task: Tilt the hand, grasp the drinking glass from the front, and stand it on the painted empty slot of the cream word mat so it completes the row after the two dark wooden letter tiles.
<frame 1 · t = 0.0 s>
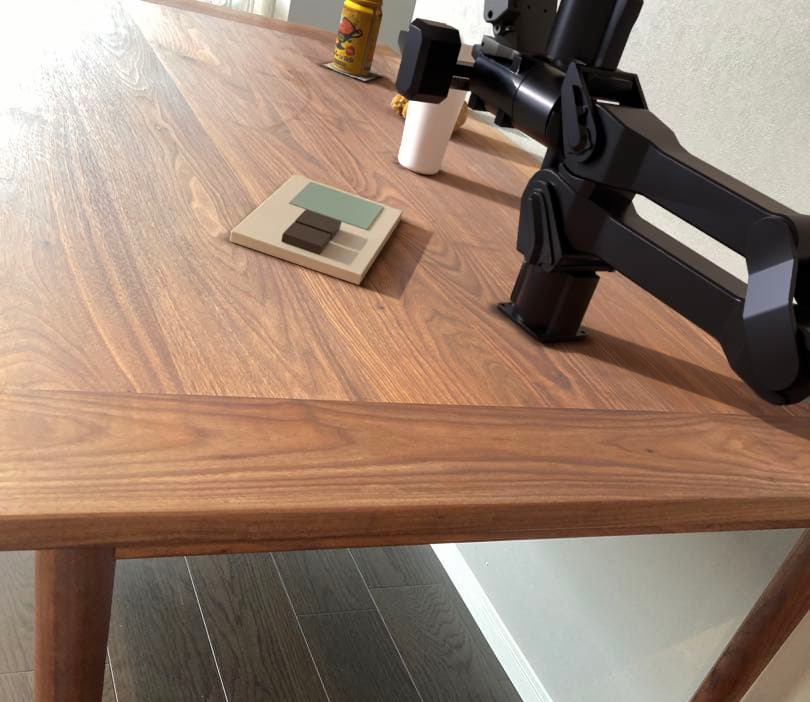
hand: (437, 42, 89), 17 cm above the table, tool horizontal, fingers open, 9 cm apart
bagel: (425, 124, 131), on the table
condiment: (352, 72, 144), on the table
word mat: (322, 229, 89), on the table
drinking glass: (417, 169, 113), on the table
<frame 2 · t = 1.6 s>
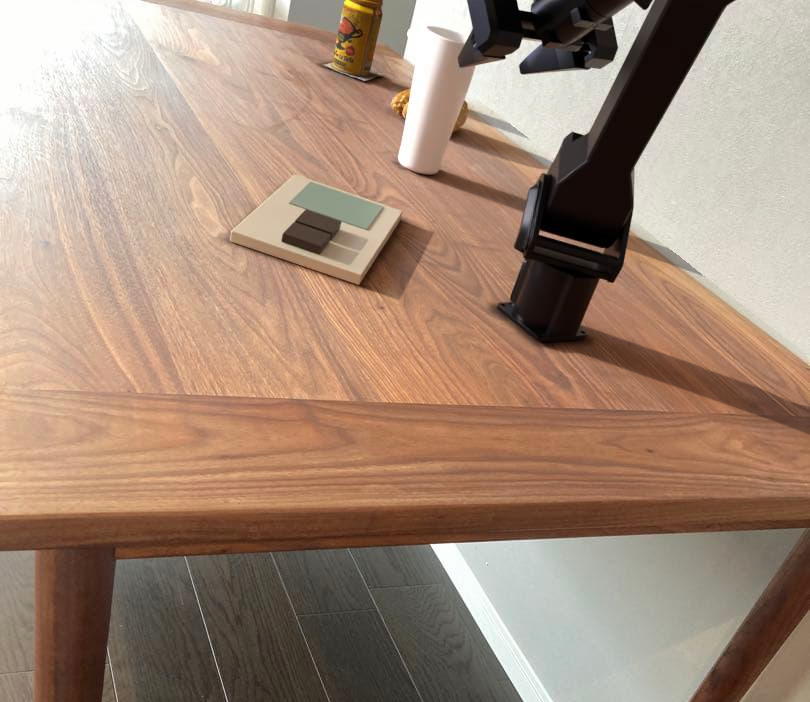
hand: (490, 66, 100), 14 cm above the table, tool tilted 45°, fingers open, 9 cm apart
nothing on the table moved.
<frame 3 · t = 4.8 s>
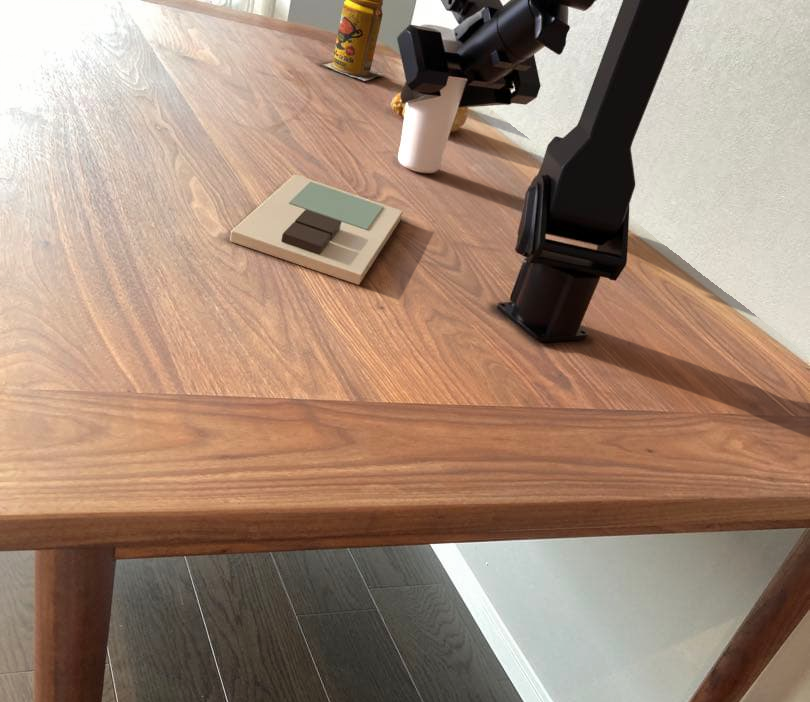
hand: (426, 101, 110), 7 cm above the table, tool tilted 45°, fingers closed on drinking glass, 7 cm apart
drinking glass: (417, 168, 113), on the table, touching gripper
everything else where it was.
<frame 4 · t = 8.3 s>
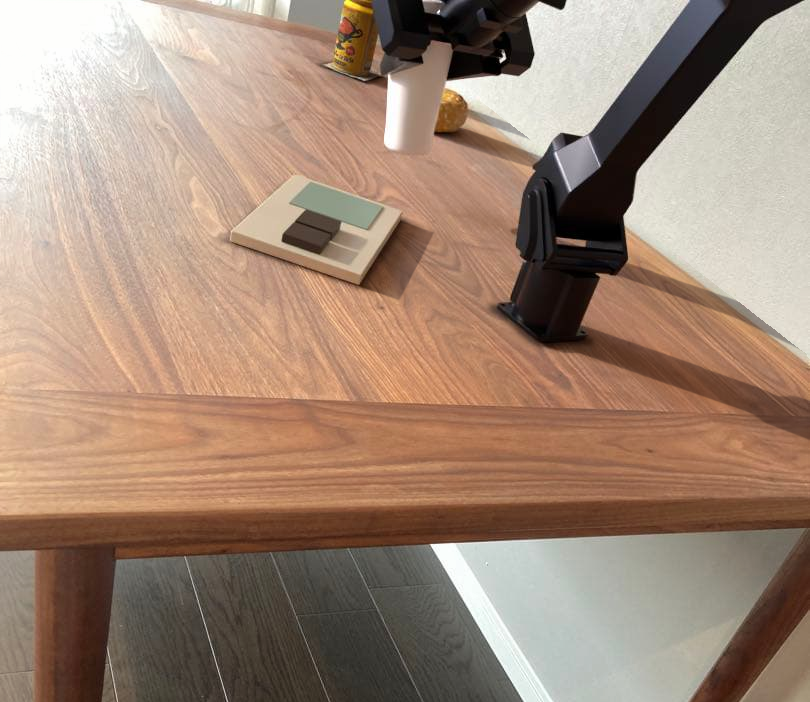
hand: (407, 74, 98), 12 cm above the table, tool tilted 45°, fingers closed on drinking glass, 6 cm apart
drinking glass: (406, 151, 102), point 4 cm above the table, touching gripper
everything else where it was.
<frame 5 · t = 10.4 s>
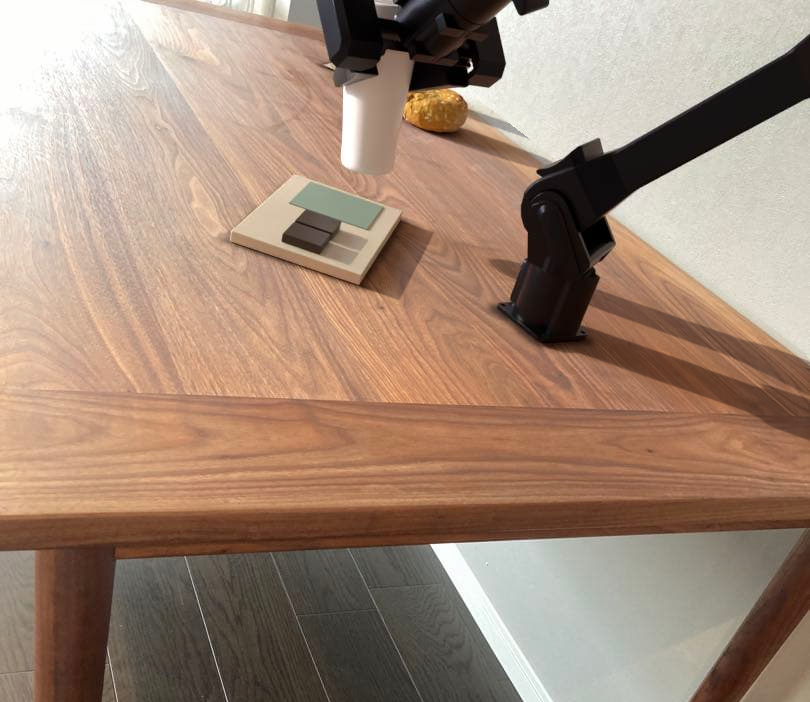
hand: (365, 85, 88), 12 cm above the table, tool tilted 45°, fingers closed on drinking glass, 6 cm apart
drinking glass: (366, 170, 92), point 4 cm above the table, touching gripper
everything else where it was.
when the fingers open (9 cm above the table, at t = 12.2 s): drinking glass stays where it is, resting on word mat.
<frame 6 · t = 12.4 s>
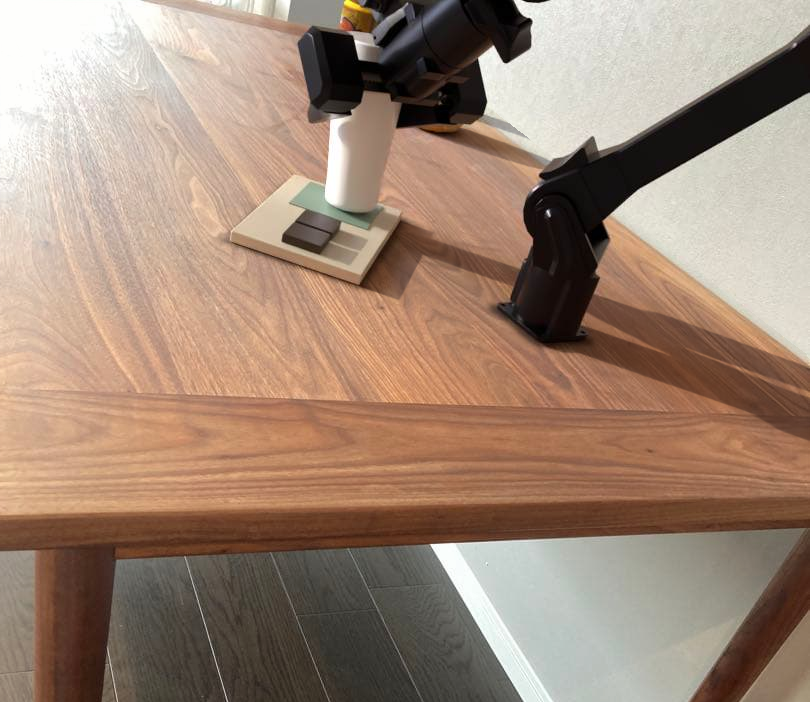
hand: (347, 121, 88), 9 cm above the table, tool tilted 45°, fingers open, 8 cm apart
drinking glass: (349, 207, 92), point 1 cm above the table, touching gripper, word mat
everything else where it was.
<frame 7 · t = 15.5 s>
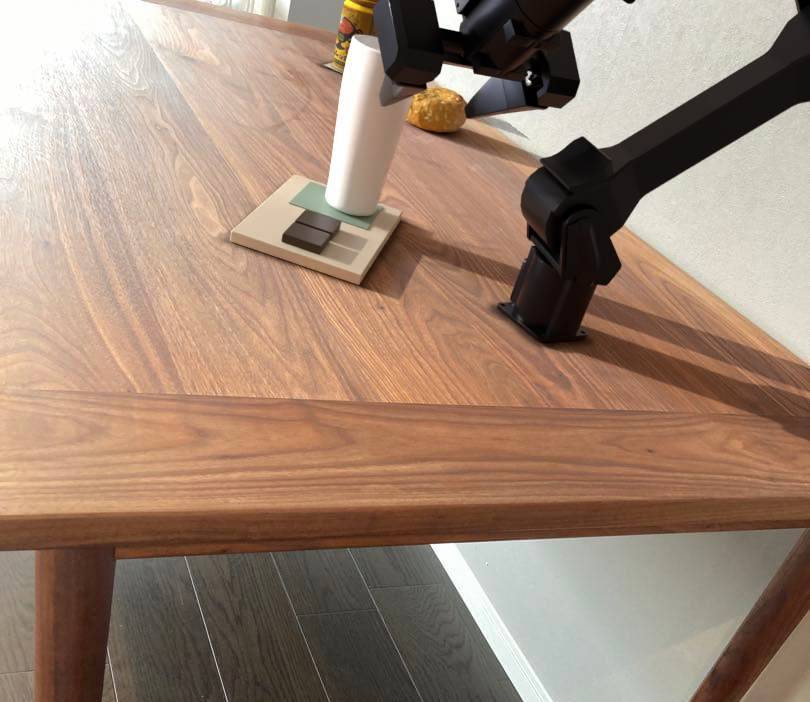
hand: (425, 107, 81), 13 cm above the table, tool tilted 40°, fingers open, 9 cm apart
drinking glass: (349, 209, 92), point 1 cm above the table, touching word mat
everything else where it was.
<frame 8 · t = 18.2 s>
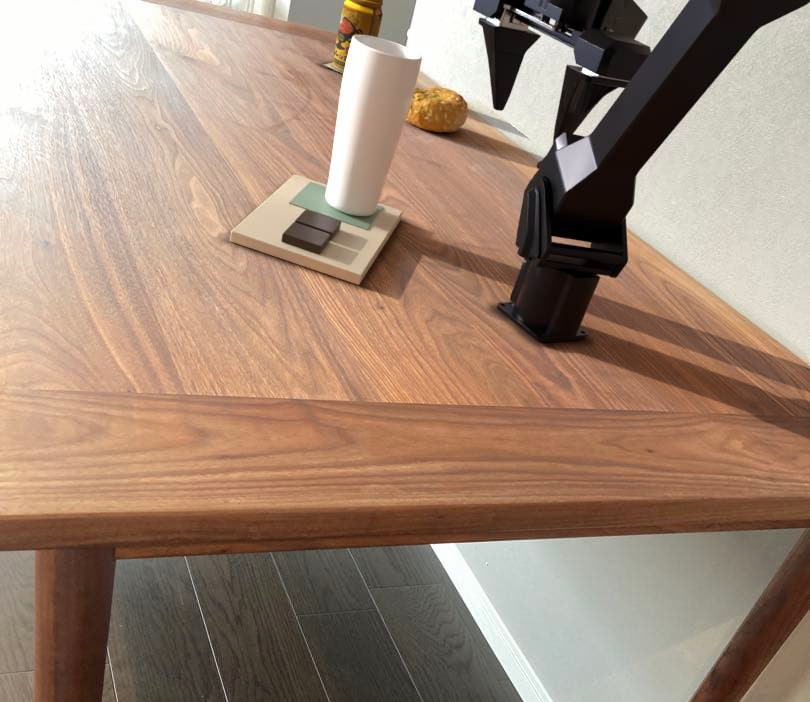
hand: (527, 127, 87), 13 cm above the table, tool pointing down, fingers open, 9 cm apart
nothing on the table moved.
at the end: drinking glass 1.3 cm from the target spot on the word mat, point 0.9 cm above the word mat's base; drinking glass tilted 0°; the gripper is holding nothing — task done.
